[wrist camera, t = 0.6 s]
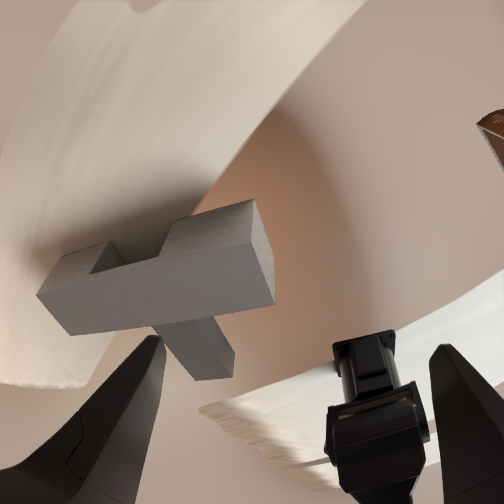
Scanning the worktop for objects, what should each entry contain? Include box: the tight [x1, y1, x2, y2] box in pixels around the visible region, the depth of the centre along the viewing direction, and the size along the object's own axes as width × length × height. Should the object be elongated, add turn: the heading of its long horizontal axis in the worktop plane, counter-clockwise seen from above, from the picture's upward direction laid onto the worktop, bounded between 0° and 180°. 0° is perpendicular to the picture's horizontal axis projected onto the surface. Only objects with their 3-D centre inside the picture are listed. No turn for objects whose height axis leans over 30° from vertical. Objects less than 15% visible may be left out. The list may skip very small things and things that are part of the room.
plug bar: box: [152, 316, 235, 381], centre depth 27 cm, size 13×4×3 cm, turn 17°
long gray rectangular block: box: [36, 199, 275, 336], centre depth 22 cm, size 5×18×5 cm, turn 107°
